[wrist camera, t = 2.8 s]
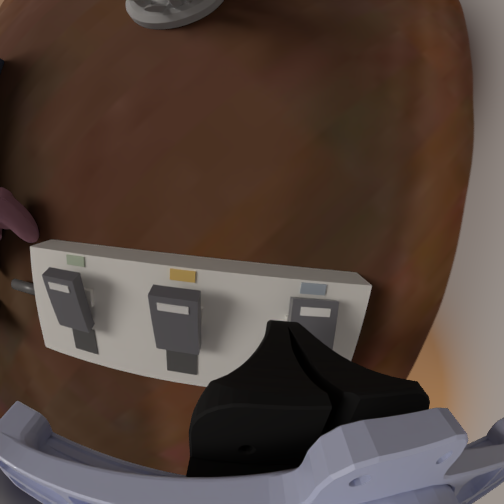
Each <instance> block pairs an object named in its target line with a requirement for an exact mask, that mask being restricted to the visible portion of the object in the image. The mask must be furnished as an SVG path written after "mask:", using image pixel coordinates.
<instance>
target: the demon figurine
mask: <svg viewBox="0 0 504 504" xmlns="http://www.w3.org/2000/svg"><path fill="white" fill-rule="evenodd" d="M223 1H224V0H126V10H127V12H128V14H129V15H130V16H131V18H132V19H133V20H134V21H135V22H136V23H137V24H138V25H140V26H143V27H145V28H150V29H171V28H176V27H180V26H184V25H187V24H190V23H193V22H195V21H197V20H200V19H201V18H203V17H205V16H207V15H208V14H210V13H211V12H213V11H214V10H215V9H216V8H218V7H219V6H220V5H221V3H222V2H223Z"/></svg>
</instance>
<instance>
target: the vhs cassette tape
mask: <svg viewBox="0 0 504 504" xmlns="http://www.w3.org/2000/svg"><path fill="white" fill-rule="evenodd" d="M3 65H4V61H3V60H2V59H0V73H1V70H2V67H3Z"/></svg>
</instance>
